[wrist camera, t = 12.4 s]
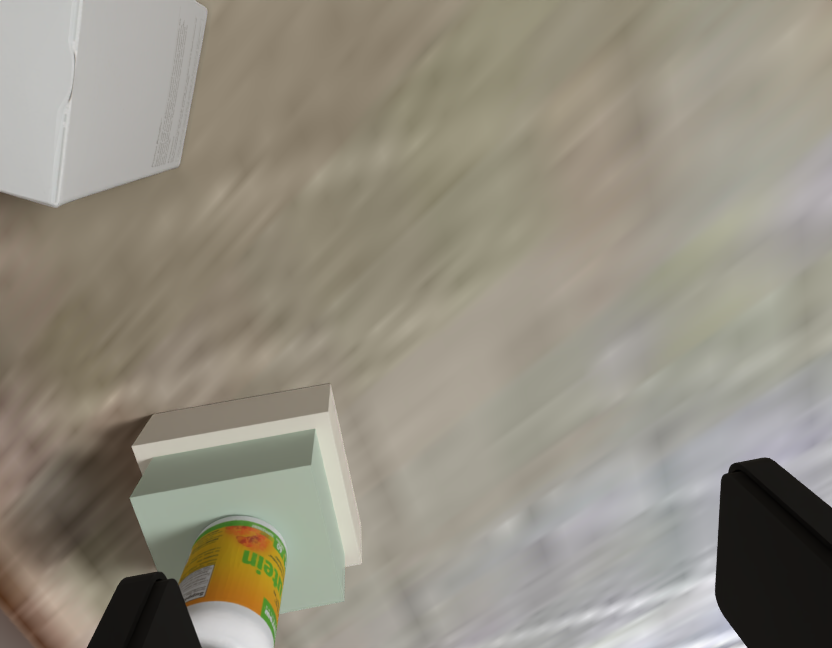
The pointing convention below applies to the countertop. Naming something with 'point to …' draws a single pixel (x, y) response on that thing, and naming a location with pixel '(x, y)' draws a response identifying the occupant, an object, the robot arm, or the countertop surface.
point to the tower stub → (253, 485)
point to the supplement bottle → (235, 583)
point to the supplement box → (93, 93)
